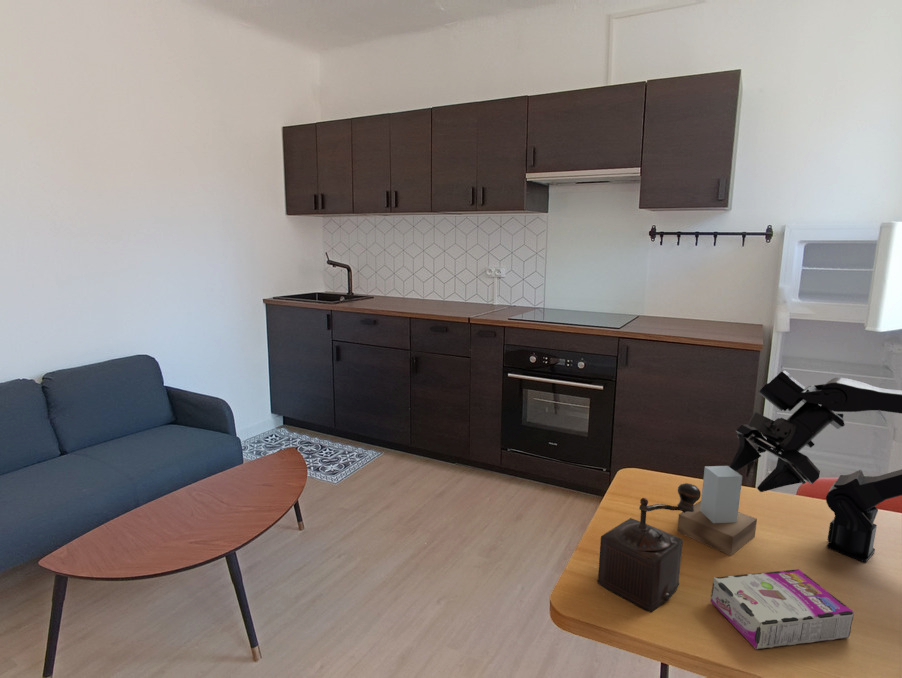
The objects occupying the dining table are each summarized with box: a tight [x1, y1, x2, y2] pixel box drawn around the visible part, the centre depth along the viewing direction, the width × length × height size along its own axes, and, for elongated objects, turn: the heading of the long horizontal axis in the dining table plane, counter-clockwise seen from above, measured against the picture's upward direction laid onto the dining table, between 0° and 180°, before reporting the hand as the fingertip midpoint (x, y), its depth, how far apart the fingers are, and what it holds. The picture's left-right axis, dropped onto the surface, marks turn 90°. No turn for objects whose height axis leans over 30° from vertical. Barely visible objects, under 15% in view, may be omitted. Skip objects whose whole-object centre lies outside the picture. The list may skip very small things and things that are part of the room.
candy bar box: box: [710, 568, 855, 650], centre depth 87 cm, size 11×5×16 cm
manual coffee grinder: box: [597, 482, 702, 613], centre depth 95 cm, size 16×11×18 cm
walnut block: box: [676, 500, 758, 556], centre depth 112 cm, size 11×11×4 cm
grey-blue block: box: [700, 465, 743, 523], centre depth 111 cm, size 5×5×10 cm
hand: (744, 479), depth 110 cm, fingers open, 9 cm apart
